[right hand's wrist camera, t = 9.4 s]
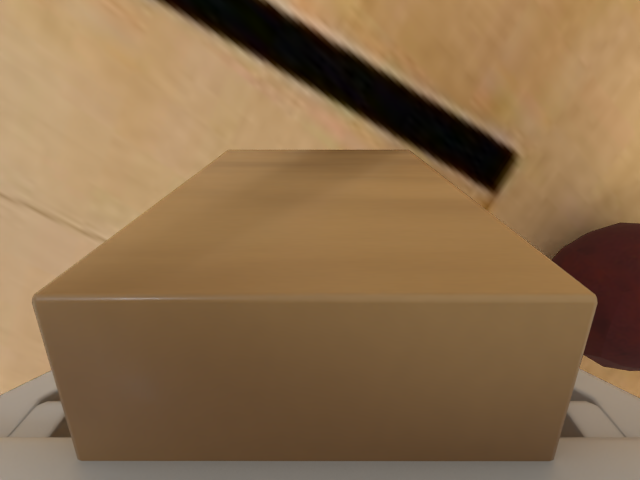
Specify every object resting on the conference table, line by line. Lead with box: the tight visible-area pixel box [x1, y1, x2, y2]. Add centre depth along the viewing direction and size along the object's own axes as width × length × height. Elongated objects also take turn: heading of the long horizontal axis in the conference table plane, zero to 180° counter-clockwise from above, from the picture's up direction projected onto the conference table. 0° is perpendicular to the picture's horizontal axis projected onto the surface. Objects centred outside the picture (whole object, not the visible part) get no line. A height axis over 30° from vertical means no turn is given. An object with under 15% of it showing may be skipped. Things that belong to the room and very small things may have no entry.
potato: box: [551, 223, 640, 371], centre depth 21 cm, size 7×8×7 cm
